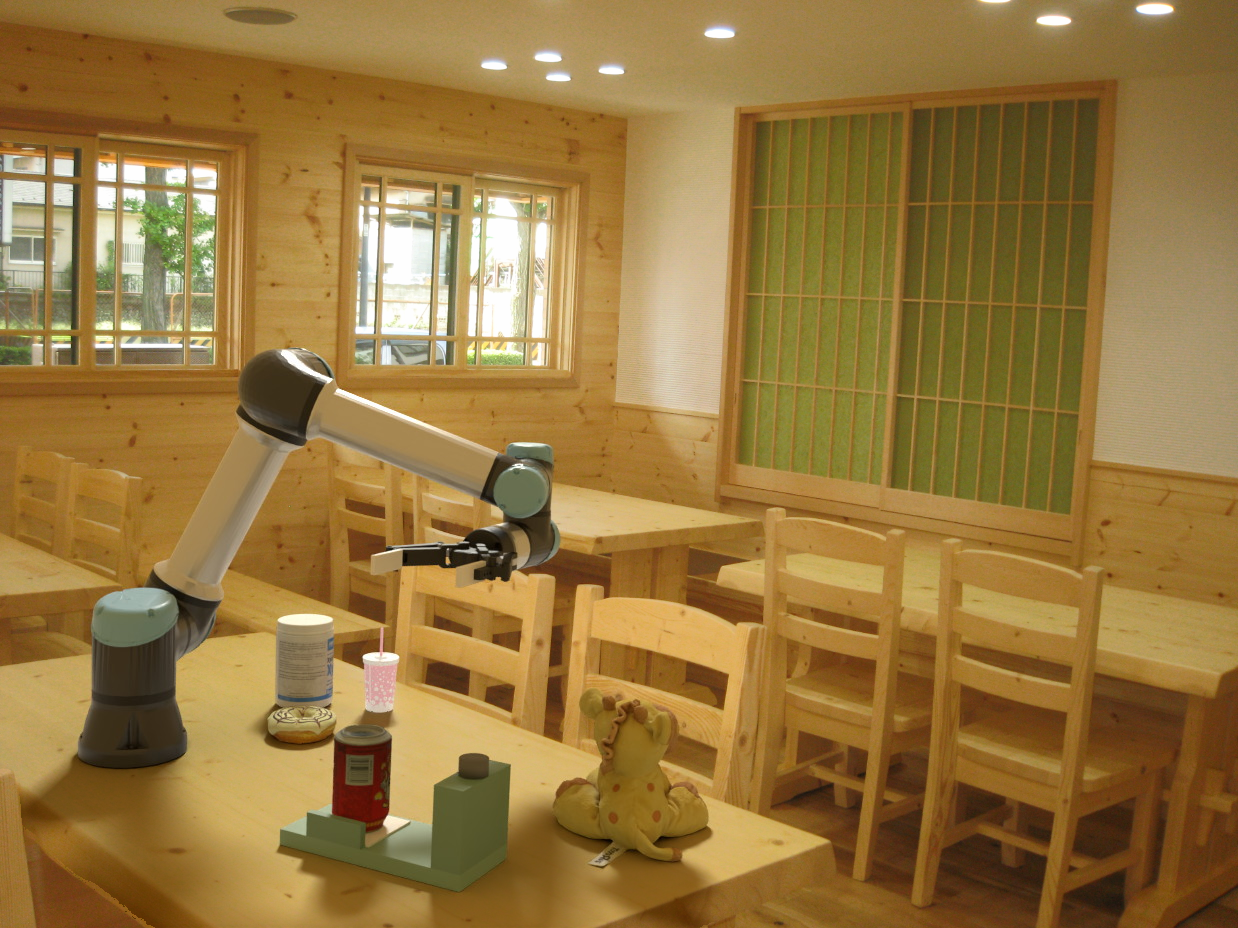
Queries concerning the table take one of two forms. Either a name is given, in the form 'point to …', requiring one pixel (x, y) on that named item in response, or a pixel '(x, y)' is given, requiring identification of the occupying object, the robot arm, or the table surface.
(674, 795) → the giraffe plush
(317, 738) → the decorated donut
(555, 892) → the table surface
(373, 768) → the soda can
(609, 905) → the table surface
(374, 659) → the beverage cup
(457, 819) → the green stepped fixture
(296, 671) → the supplement tub
